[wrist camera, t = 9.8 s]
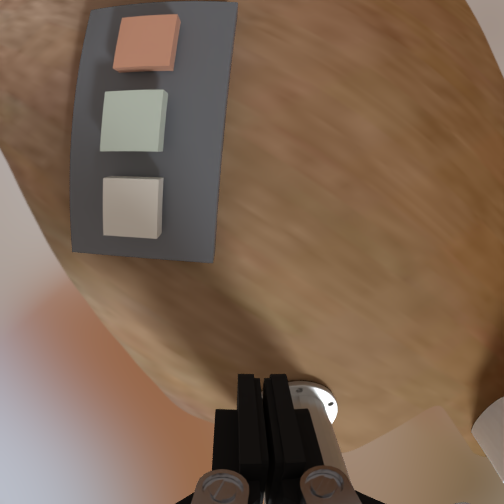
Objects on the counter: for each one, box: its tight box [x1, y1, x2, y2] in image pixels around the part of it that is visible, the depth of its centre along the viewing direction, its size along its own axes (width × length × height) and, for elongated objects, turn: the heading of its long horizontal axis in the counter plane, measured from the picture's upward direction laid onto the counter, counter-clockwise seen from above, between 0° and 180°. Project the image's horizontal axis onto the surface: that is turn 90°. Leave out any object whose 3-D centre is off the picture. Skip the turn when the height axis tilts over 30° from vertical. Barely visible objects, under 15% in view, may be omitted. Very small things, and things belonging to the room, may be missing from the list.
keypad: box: [70, 1, 238, 263], centre depth 26 cm, size 24×14×3 cm, turn 175°
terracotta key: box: [113, 14, 181, 73], centre depth 21 cm, size 5×5×2 cm
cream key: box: [103, 176, 164, 239], centre depth 25 cm, size 5×5×2 cm
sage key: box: [100, 90, 168, 152], centre depth 22 cm, size 5×5×2 cm
